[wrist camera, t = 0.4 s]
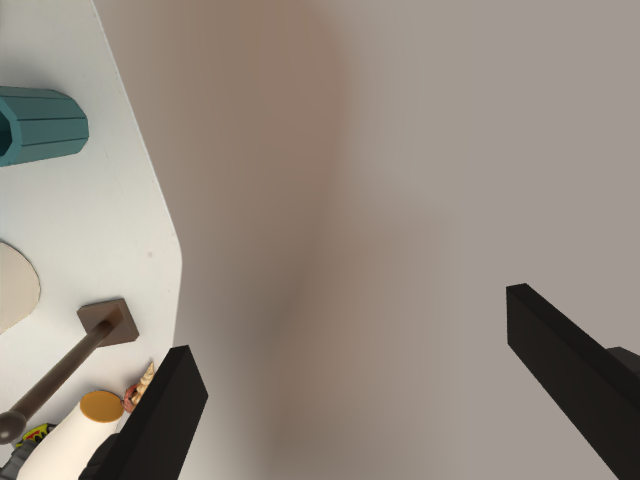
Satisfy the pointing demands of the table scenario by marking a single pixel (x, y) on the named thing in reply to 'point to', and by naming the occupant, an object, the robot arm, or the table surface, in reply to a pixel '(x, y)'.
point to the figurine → (137, 391)
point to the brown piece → (71, 361)
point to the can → (16, 287)
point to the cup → (74, 439)
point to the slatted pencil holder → (39, 125)
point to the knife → (36, 433)
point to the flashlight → (17, 460)
